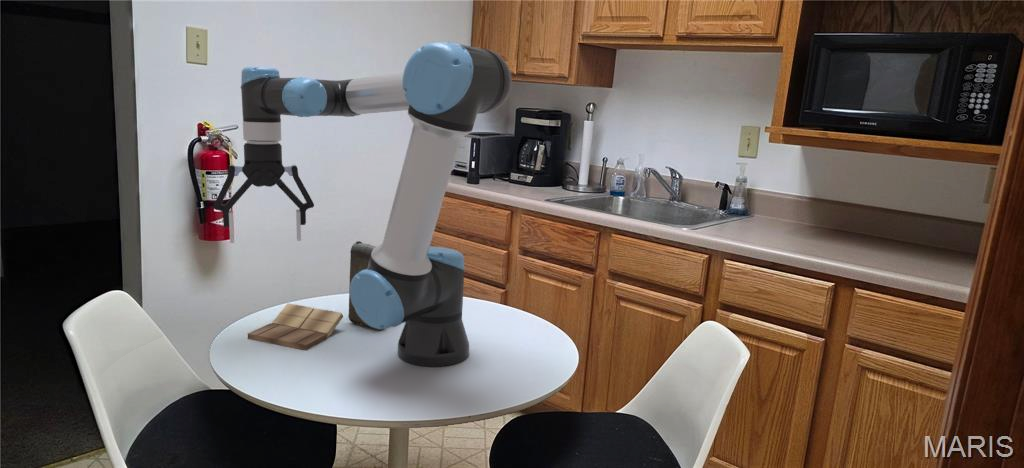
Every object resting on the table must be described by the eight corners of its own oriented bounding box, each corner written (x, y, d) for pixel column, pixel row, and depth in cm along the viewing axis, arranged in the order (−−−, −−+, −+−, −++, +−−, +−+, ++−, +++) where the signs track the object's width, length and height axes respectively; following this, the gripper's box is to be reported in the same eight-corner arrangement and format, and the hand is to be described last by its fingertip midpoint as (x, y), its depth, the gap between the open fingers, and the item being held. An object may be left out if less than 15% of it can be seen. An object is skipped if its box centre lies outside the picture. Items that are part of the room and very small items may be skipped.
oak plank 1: (315, 311, 156) (313, 307, 155) (299, 331, 151) (298, 327, 151) (289, 306, 158) (287, 303, 158) (273, 326, 154) (271, 322, 153)
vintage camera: (420, 318, 167) (423, 239, 163) (377, 332, 154) (379, 247, 150) (391, 310, 172) (393, 234, 168) (346, 324, 159) (348, 241, 155)
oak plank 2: (343, 316, 154) (341, 312, 153) (328, 337, 149) (327, 333, 148) (316, 311, 156) (315, 307, 155) (301, 331, 151) (299, 327, 150)
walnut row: (326, 339, 148) (326, 333, 148) (305, 350, 141) (305, 344, 141) (270, 328, 153) (270, 322, 153) (247, 338, 146) (247, 332, 146)
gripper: (322, 142, 149) (324, 235, 153) (199, 140, 141) (204, 239, 145) (325, 144, 142) (326, 242, 146) (196, 142, 134) (201, 246, 138)
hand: (266, 240), depth 146 cm, fingers open, 13 cm apart
